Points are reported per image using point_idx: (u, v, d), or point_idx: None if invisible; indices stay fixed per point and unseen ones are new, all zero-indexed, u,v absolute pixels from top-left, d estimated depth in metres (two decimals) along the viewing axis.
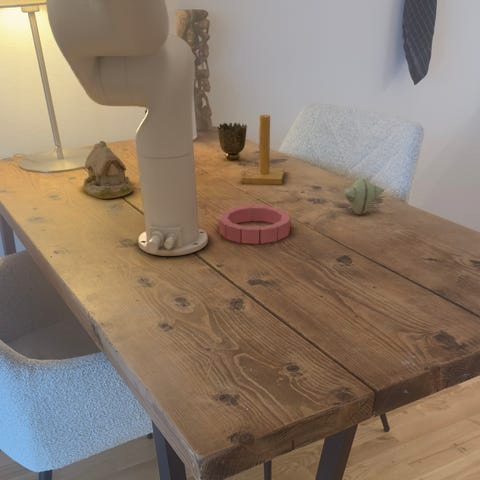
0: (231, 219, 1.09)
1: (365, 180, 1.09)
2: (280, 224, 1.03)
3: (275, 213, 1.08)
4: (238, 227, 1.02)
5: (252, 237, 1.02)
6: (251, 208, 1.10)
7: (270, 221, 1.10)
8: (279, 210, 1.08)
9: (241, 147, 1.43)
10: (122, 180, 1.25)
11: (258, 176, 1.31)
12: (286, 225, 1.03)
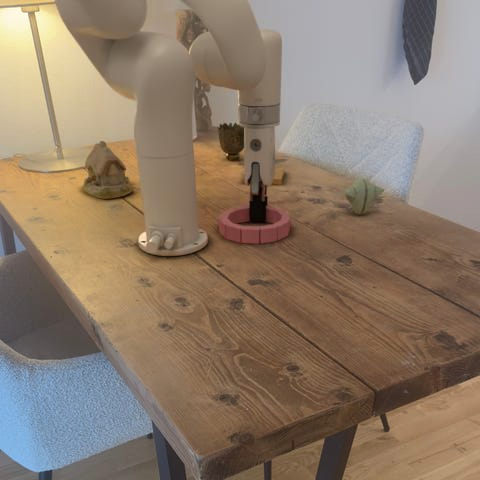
0: (231, 219, 1.09)
1: (365, 180, 1.09)
2: (280, 224, 1.03)
3: (275, 213, 1.08)
4: (238, 227, 1.02)
5: (252, 237, 1.02)
6: None
7: (270, 221, 1.10)
8: (279, 210, 1.08)
9: (241, 147, 1.43)
10: (122, 180, 1.25)
11: None
12: (286, 225, 1.03)
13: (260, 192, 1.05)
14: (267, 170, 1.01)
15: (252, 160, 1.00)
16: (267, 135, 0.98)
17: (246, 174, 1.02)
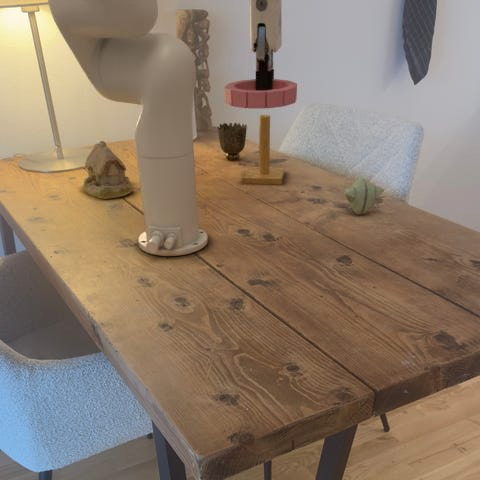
0: None
1: (365, 180, 1.09)
2: (286, 88, 1.02)
3: (282, 84, 1.08)
4: (244, 91, 1.01)
5: (258, 101, 1.01)
6: None
7: None
8: (286, 81, 1.08)
9: (241, 147, 1.43)
10: (122, 180, 1.25)
11: (258, 176, 1.31)
12: (292, 91, 1.03)
13: (266, 59, 1.04)
14: (273, 32, 1.00)
15: (258, 21, 1.00)
16: None
17: (252, 38, 1.01)
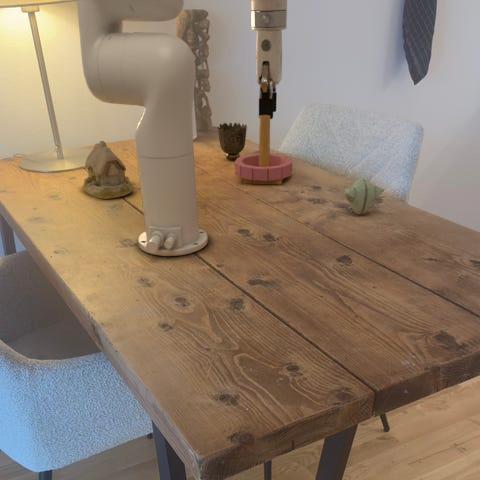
0: (244, 163, 1.34)
1: (365, 180, 1.09)
2: (284, 165, 1.28)
3: (280, 159, 1.34)
4: (250, 167, 1.27)
5: (262, 175, 1.27)
6: None
7: (276, 166, 1.36)
8: (283, 156, 1.34)
9: (241, 147, 1.43)
10: (122, 180, 1.25)
11: None
12: (289, 166, 1.29)
13: (268, 89, 1.22)
14: (276, 68, 1.20)
15: (263, 59, 1.19)
16: (276, 37, 1.17)
17: (258, 72, 1.21)
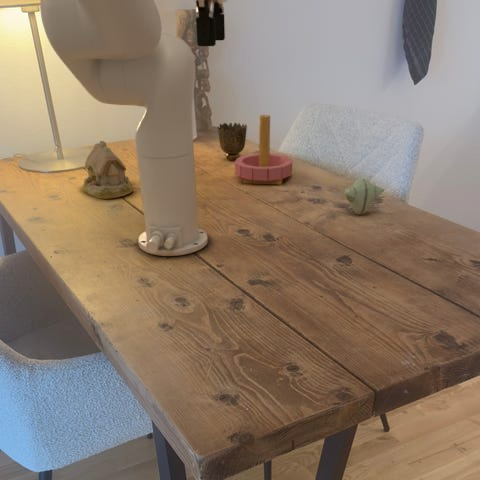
0: (244, 163, 1.34)
1: (365, 180, 1.09)
2: (284, 165, 1.28)
3: (280, 159, 1.34)
4: (250, 167, 1.27)
5: (262, 175, 1.27)
6: None
7: (276, 166, 1.36)
8: (283, 156, 1.34)
9: (241, 147, 1.43)
10: (122, 180, 1.25)
11: None
12: (289, 166, 1.29)
13: (206, 2, 0.93)
14: None
15: None
16: None
17: None
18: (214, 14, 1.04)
